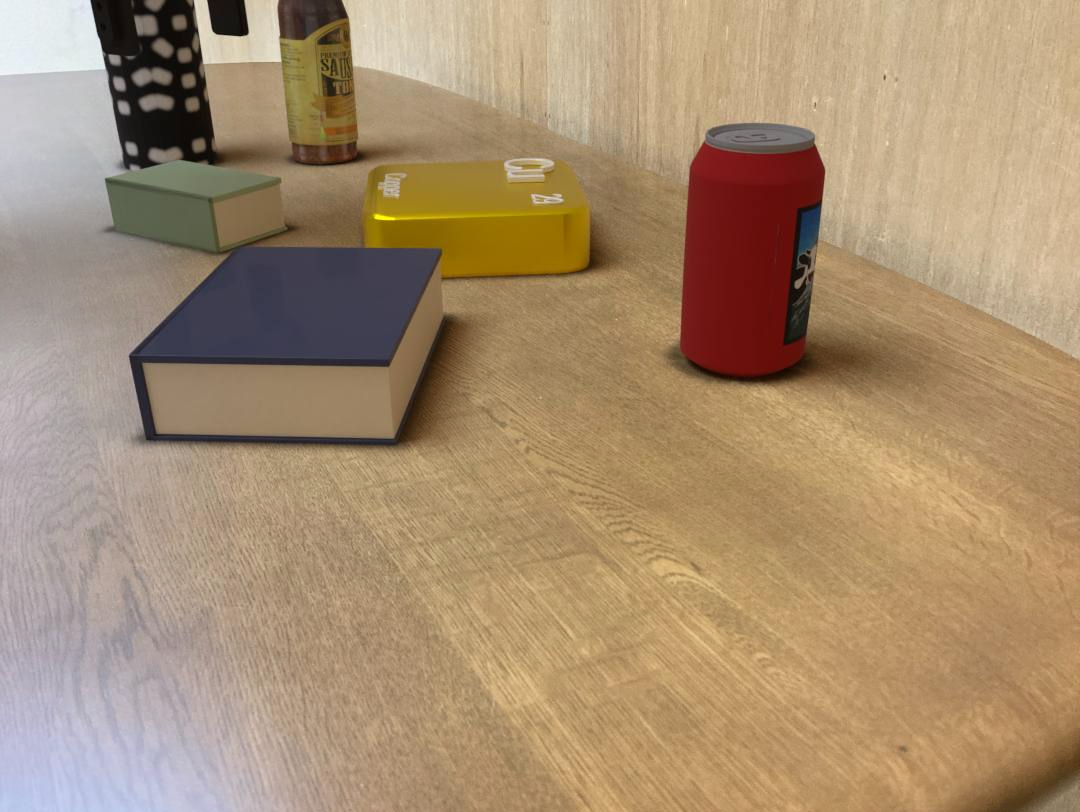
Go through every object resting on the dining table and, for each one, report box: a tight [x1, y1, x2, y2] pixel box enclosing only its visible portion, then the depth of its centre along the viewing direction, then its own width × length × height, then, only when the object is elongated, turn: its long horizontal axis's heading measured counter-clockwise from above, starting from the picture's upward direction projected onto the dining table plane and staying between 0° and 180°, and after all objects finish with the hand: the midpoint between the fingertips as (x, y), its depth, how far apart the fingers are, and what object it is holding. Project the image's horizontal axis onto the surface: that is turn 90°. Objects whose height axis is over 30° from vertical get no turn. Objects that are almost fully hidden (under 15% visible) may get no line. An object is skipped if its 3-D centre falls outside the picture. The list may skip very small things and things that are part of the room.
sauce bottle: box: [276, 0, 359, 166], centre depth 100 cm, size 7×6×20 cm
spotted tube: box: [101, 0, 219, 172], centre depth 100 cm, size 8×8×20 cm
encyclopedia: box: [128, 245, 447, 446], centre depth 60 cm, size 12×17×4 cm
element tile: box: [361, 157, 591, 279], centre depth 80 cm, size 15×15×5 cm
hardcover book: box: [104, 160, 288, 254], centre depth 84 cm, size 11×7×4 cm, turn 56°
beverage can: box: [679, 122, 826, 378], centre depth 59 cm, size 7×7×12 cm
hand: (178, 44), depth 79 cm, fingers open, 9 cm apart
